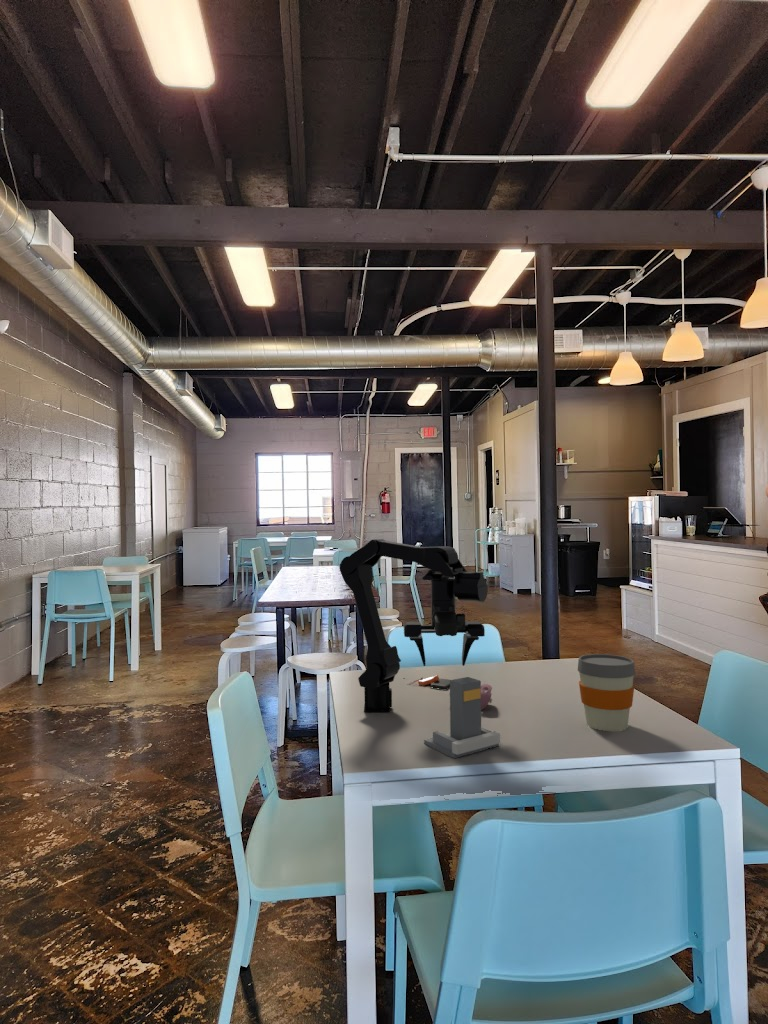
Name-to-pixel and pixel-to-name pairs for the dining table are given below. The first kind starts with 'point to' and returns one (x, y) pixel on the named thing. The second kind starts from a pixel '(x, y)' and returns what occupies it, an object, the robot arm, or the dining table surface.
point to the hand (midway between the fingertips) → (443, 665)
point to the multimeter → (435, 682)
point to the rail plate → (463, 743)
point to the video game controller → (485, 695)
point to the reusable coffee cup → (606, 690)
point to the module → (465, 708)
